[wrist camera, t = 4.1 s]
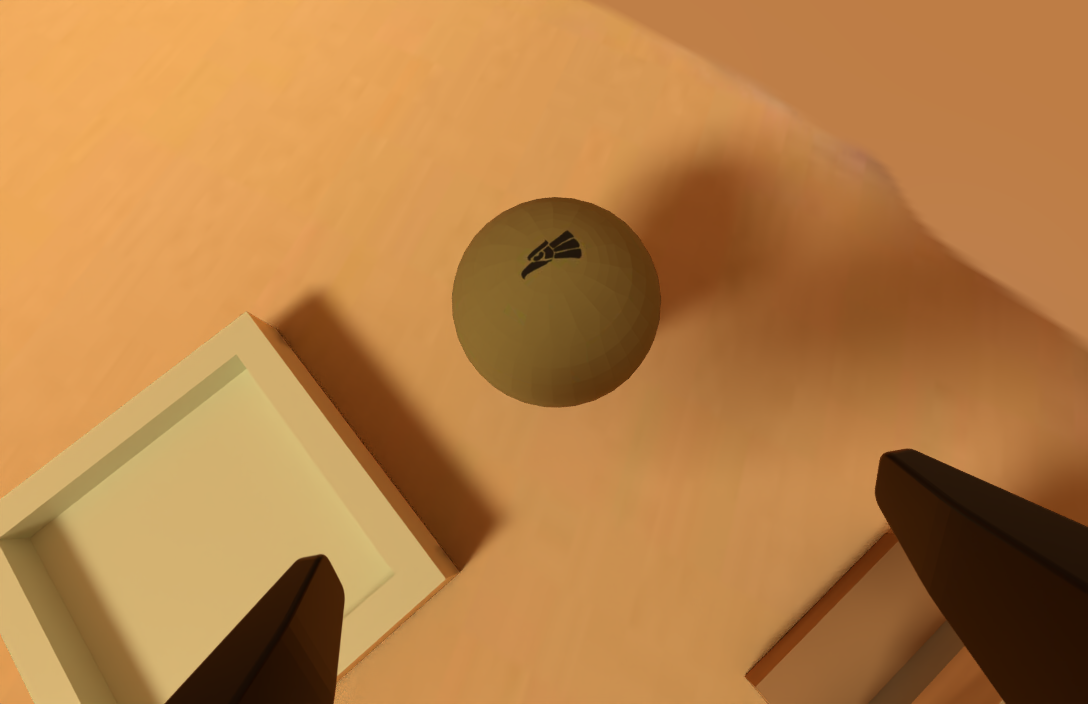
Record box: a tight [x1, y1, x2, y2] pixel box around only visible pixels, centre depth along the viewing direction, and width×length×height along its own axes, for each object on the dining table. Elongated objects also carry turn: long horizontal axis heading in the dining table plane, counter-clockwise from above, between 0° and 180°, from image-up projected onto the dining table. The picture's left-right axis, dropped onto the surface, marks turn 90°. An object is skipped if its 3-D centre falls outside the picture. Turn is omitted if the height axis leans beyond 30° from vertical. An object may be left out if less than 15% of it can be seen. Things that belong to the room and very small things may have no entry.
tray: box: [0, 311, 460, 704], centre depth 20 cm, size 12×12×2 cm
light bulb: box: [452, 197, 661, 407], centre depth 17 cm, size 6×6×10 cm
